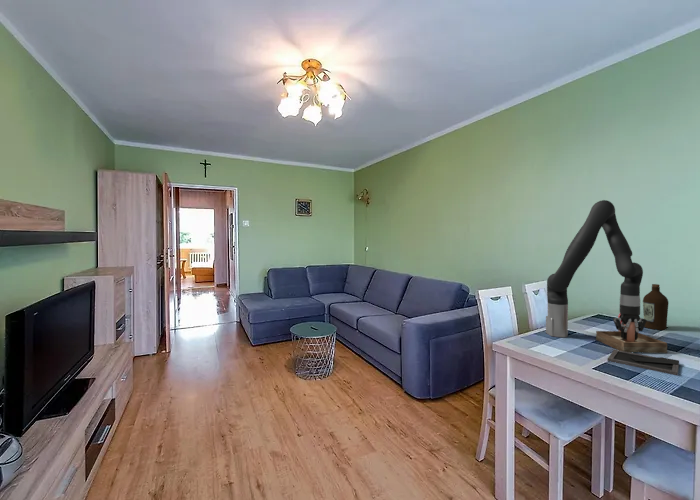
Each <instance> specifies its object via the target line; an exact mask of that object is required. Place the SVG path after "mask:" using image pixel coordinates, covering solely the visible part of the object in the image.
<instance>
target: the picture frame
mask: <svg viewBox="0 0 700 500" xmlns="http://www.w3.org/2000/svg"><path fill="white" fill-rule="evenodd" d="M610 361H611V363H615V362H616V363H615V364H620V365H624V364H625V365H626V366H629V367H635V368H639V369H644V370H648V371H654V372H659V373H663V374H667V375H674V376H678V375H679V368H680V360H679V359H678V360H677V359H673V358H668V357H662V356H661V357H660V356H659V357H657V356H653V355H652V356H650V355H646V354H643V353H632V352H625V351H620V350H617V349H615V348H613V350H612V351H611V353H609V356H608V357H607V362H610Z"/></svg>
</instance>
